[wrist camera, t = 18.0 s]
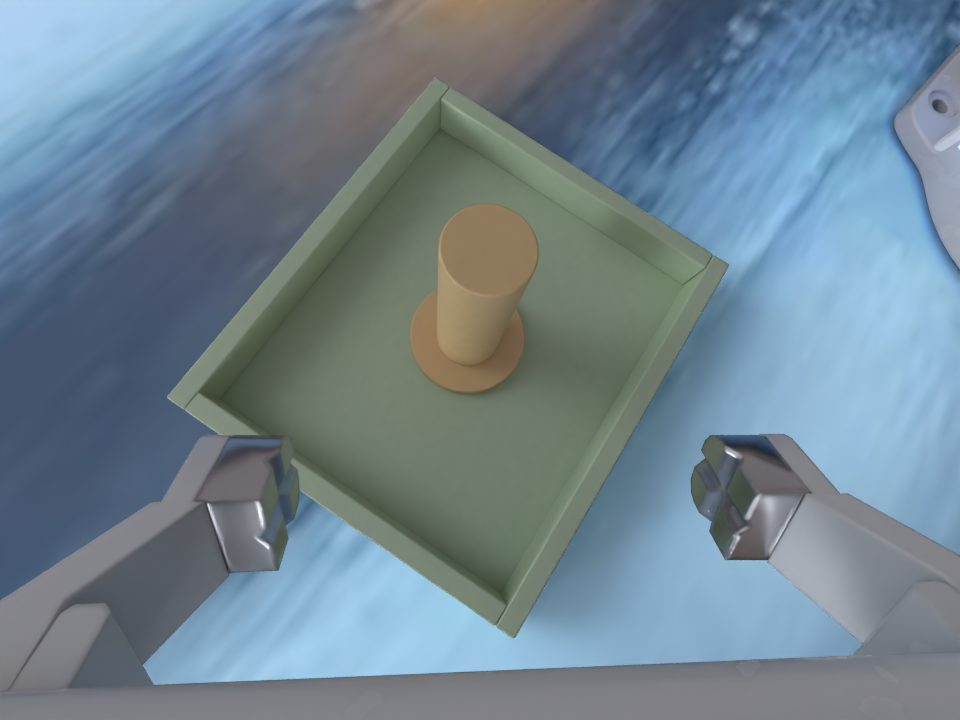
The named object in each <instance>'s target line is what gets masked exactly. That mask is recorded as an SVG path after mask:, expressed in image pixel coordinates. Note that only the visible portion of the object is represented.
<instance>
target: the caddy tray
mask: <svg viewBox="0 0 960 720" xmlns="http://www.w3.org/2000/svg"><path fill="white" fill-rule="evenodd" d="M728 266H729V265H728V264H727V263H726V262H724V261H722V260H721V259H719V258H718V257H716V256H712V254H711V253H710V252H708V251H707V250H705V249H704V248H702V247H701V246H699V245H697V244H696V243H694V242H693V241H691V240H690V239H688V238H686V237H685V236H683V235H682V234H680V233H679V232H677V231H675V230H674V229H672V228H671V227H669V226H668V225H666V224H664V223H663V222H661V221H660V220H658V219H657V218H655V217H654V216H652V215H650V214H649V213H647V212H646V211H644V210H643V209H641V208H639V207H638V206H636V205H635V204H633V203H632V202H630V201H628V200H627V199H625V198H624V197H622V196H621V195H619V194H617V193H616V192H614V191H613V190H611V189H610V188H608V187H607V186H605V185H603V184H602V183H600V182H599V181H597V180H596V179H594V178H592V177H591V176H589V175H588V174H586V173H585V172H583V171H581V170H580V169H578V168H577V167H575V166H574V165H572V164H570V163H569V162H567V161H566V160H564V159H563V158H561V157H560V156H558V155H556V154H555V153H553V152H552V151H550V150H549V149H547V148H545V147H544V146H542V145H541V144H539V143H538V142H536V141H534V140H533V139H531V138H530V137H528V136H527V135H525V134H523V133H522V132H520V131H519V130H517V129H516V128H514V127H513V126H511V125H509V124H508V123H506V122H505V121H503V120H502V119H500V118H498V117H497V116H495V115H494V114H492V113H491V112H489V111H487V110H486V109H484V108H483V107H481V106H480V105H478V104H476V103H475V102H473V101H472V100H470V99H469V98H467V97H466V96H464V95H462V94H461V93H459V92H458V91H456V90H455V89H453V88H450V86H449V85H447V84H445V83H444V82H442V81H441V80H439V79H438V78H434V80H433V81H432V82H431V83H430V84H429V86H428V87H427V88H426V89H425V90H424V92H423V93H422V94H421V95H420V96H419V97H418V99H417V100H416V101H415V102H414V103H413V105H412V106H411V107H410V108H409V109H408V111H407V112H406V113H405V114H404V115H403V117H402V118H401V119H400V120H399V121H398V122H397V124H396V125H395V126H394V127H393V128H392V130H391V131H390V132H389V133H388V134H387V136H386V137H385V138H384V139H383V140H382V142H381V143H380V144H379V145H378V146H377V147H376V149H375V150H374V151H373V152H372V153H371V155H370V156H369V157H368V158H367V159H366V161H365V162H364V163H363V164H362V165H361V166H360V168H359V169H358V170H357V171H356V172H355V174H354V175H353V176H352V177H351V178H350V180H349V181H348V182H347V183H346V184H345V186H344V187H343V188H342V189H341V190H340V191H339V193H338V194H337V195H336V196H335V197H334V199H333V200H332V201H331V202H330V203H329V205H328V206H327V207H326V208H325V209H324V211H323V212H322V213H321V214H320V215H319V216H318V218H317V219H316V220H315V221H314V222H313V224H312V225H311V226H310V227H309V228H308V230H307V231H306V232H305V233H304V234H303V236H302V237H301V238H300V239H299V240H298V241H297V243H296V244H295V245H294V246H293V247H292V249H291V250H290V251H289V252H288V253H287V255H286V256H285V257H284V258H283V259H282V261H281V262H280V263H279V264H278V265H277V266H276V268H275V269H274V270H273V271H272V272H271V274H270V275H269V276H268V277H267V278H266V280H265V281H264V282H263V283H262V284H261V286H260V287H259V288H258V289H257V290H256V291H255V293H254V294H253V295H252V296H251V297H250V299H249V300H248V301H247V302H246V303H245V305H244V306H243V307H242V308H241V309H240V310H239V312H238V313H237V314H236V315H235V316H234V318H233V319H232V320H231V321H230V322H229V324H228V325H227V326H226V327H225V328H224V330H223V331H222V332H221V333H220V334H219V335H218V337H217V338H216V339H215V340H214V341H213V343H212V344H211V345H210V346H209V347H208V349H207V350H206V351H205V352H204V353H203V355H202V356H201V357H200V358H199V359H198V360H197V362H196V363H195V364H194V365H193V366H192V368H191V369H190V370H189V371H188V372H187V374H186V375H185V376H184V377H183V378H182V380H181V381H180V382H179V383H178V384H177V385H176V387H175V388H174V389H173V390H172V391H171V393H170V394H169V395H168V396H167V398H168V399H169V400H171V401H172V402H173V403H175V404H176V405H178V406H179V407H181V408H182V409H185V410H186V412H188V413H189V414H191V415H192V416H194V417H195V418H196V419H198V420H199V421H201V422H202V423H204V424H205V425H206V426H208V427H209V428H211V429H212V430H214V431H215V432H217V433H218V434H219V435H232V436H233V435H267V436H288V437H290V438H291V440H292V444H293V448H294V454H293V457H292V460H291V464H292V465H293V466H294V467H295V468H297V469H298V475H299V486H300V491H301V492H303V493H304V494H306V495H307V496H309V497H310V498H311V499H313V500H314V501H316V502H317V503H319V504H320V505H321V506H323V507H324V508H326V509H327V510H329V511H330V512H332V513H333V514H334V515H336V516H337V517H339V518H340V519H342V520H343V521H344V522H346V523H347V524H349V525H350V526H352V527H353V528H355V529H356V530H357V531H359V532H360V533H362V534H363V535H365V536H366V537H367V538H369V539H370V540H372V541H373V542H375V543H376V544H378V545H379V546H380V547H382V548H383V549H385V550H386V551H388V552H389V553H390V554H392V555H393V556H395V557H396V558H398V559H399V560H401V561H402V562H403V563H405V564H406V565H408V566H409V567H411V568H412V569H413V570H415V571H416V572H418V573H419V574H421V575H422V576H424V577H425V578H426V579H428V580H429V581H431V582H432V583H434V584H435V585H436V586H438V587H439V588H441V589H442V590H444V591H445V592H446V593H448V594H449V595H451V596H452V597H454V598H455V599H457V600H458V601H459V602H461V603H462V604H464V605H465V606H467V607H468V608H469V609H471V610H472V611H474V612H475V613H477V614H478V615H480V616H481V617H482V618H484V619H485V620H487V621H488V622H490V623H491V624H492V625H496V627H497V628H498V629H500V630H501V631H503V632H504V633H506V634H507V635H508V636H510V637H511V638H515V637H516V635H517V634H518V632H519V630H520V629H521V627H522V625H523V623H524V622H525V620H526V618H527V616H528V615H529V613H530V611H531V609H532V608H533V606H534V604H535V602H536V601H537V599H538V597H539V595H540V594H541V592H542V590H543V588H544V587H545V585H546V583H547V582H548V580H549V578H550V576H551V575H552V573H553V571H554V569H555V568H556V566H557V564H558V562H559V561H560V559H561V557H562V555H563V554H564V552H565V550H566V548H567V547H568V545H569V543H570V542H571V540H572V538H573V536H574V535H575V533H576V531H577V529H578V528H579V526H580V524H581V522H582V521H583V519H584V517H585V515H586V514H587V512H588V510H589V508H590V507H591V505H592V503H593V501H594V500H595V498H596V496H597V495H598V493H599V491H600V489H601V488H602V486H603V484H604V482H605V481H606V479H607V477H608V475H609V474H610V472H611V470H612V468H613V467H614V465H615V463H616V461H617V460H618V458H619V456H620V455H621V453H622V451H623V449H624V448H625V446H626V444H627V442H628V441H629V439H630V437H631V435H632V434H633V432H634V430H635V428H636V427H637V425H638V423H639V421H640V420H641V418H642V416H643V414H644V413H645V411H646V409H647V408H648V406H649V404H650V402H651V401H652V399H653V397H654V395H655V394H656V392H657V390H658V388H659V387H660V385H661V383H662V381H663V380H664V378H665V376H666V374H667V373H668V371H669V369H670V368H671V366H672V364H673V362H674V361H675V359H676V357H677V355H678V354H679V352H680V350H681V348H682V347H683V345H684V343H685V341H686V340H687V338H688V336H689V334H690V333H691V331H692V329H693V328H694V326H695V324H696V322H697V321H698V319H699V317H700V315H701V314H702V312H703V310H704V308H705V307H706V305H707V303H708V301H709V300H710V298H711V296H712V294H713V293H714V291H715V289H716V287H717V286H718V284H719V282H720V281H721V279H722V277H723V275H724V274H725V272H726V270H727V268H728Z"/></svg>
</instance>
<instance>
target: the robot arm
mask: <svg viewBox="0 0 960 720" xmlns="http://www.w3.org/2000/svg"><path fill="white" fill-rule="evenodd" d="M894 127H895V130H896V133H897V135H898V138H899V140H900V141H901V143H902V145H903V147H904V148H905V150H906V151H907V153H908V155H909V156H910V158H911V159H912V161H913V162H914V164H915V165H916V167H917V168H918V170H919V173H920V175H921V178H922V182H923V185H924V190H925V194H926V199H927V203H928V207H929V211H930V214H931V217H932V220H933V223H934V225H935V228H936V230H937V232H938V235H939V237H940V239H941V241H942V243H943V244H944V246H945V248H946V250H947V251H948V253H949V255H950V256H951V258H952V259H953V260H954V262H955V263H956V265H957V266H958V267H959V269H960V44H959V45H958V46H957V48H956V49H955V50H954V51H953V52H952V53H951V54H950V55H949V56H948V57H947V59H946V60H945V61H944V62H943V63H942V64H941V65H940V66H939V67H938V69H937V70H936V71H935V72H934V73H933V74H932V75H931V76H930V77H929V79H928V80H927V81H926V82H925V83H924V84H923V85H922V86H921V87H920V88H919V90H918V91H917V92H916V93H915V94H914V95H913V96H912V97H911V98H910V100H909V101H908V102H907V103H906V104H905V105H904V106H903V107H902V108H901V110H900V111H899V112H898V113H897V115H896V117H895V120H894ZM701 451H702V453H703V454H704V456H705V459H704V460H702V461H701V462H700V463H699V464H697V465H696V466H695V468H694V471H693V474H692V477H691V494H692V497H693V501H694V503H695V505H696V507H697V509H698V511H699V513H700V514H702V515H703V516H705V517H706V518H707V519H709V520H710V521H711V522H712V523H711V526H710V530H709V532H710V533H711V535H712V537H713V539H714V541H715V542H716V544H717V546H718V548H719V550H720V552H721V553H722V555H723V557H724V559H725V560H768V563H769V564H770V565H771V566H772V567H773V568H775V569H776V570H777V571H778V572H779V573H780V574H782V575H783V576H784V577H785V578H786V579H787V580H789V581H790V582H791V583H792V584H793V585H794V586H796V587H797V588H798V589H799V590H800V591H801V592H803V593H804V594H805V595H806V596H807V597H808V598H809V599H811V600H812V601H813V602H814V603H815V604H816V605H818V606H819V607H820V608H821V609H822V610H823V611H825V612H826V613H827V614H828V615H829V616H830V617H832V618H833V619H834V620H835V621H836V622H837V623H839V624H840V625H841V626H842V627H843V628H844V629H846V630H847V631H848V632H849V633H850V634H851V635H852V636H854V637H855V638H856V639H857V640H858V641H859V642H861V643H862V645H861V646H860V647H859V648H858V649H857V651H856V652H855V653H854V654H853V655H852V656H830V657H807V658H783V659H759V660H736V661H712V662H688V663H665V664H641V665H618V666H594V667H571V668H547V669H523V670H500V671H476V672H453V673H429V674H405V675H381V676H357V677H333V678H309V679H285V680H261V681H237V682H213V683H189V684H165V685H154V684H153V682H152V681H151V679H150V677H149V675H148V674H147V672H146V670H145V669H144V667H143V664H144V663H145V662H146V661H147V660H148V659H149V658H150V657H151V656H152V655H153V654H154V653H155V652H156V651H157V650H158V649H159V648H160V647H161V645H162V644H163V643H164V642H165V641H166V640H167V639H168V638H169V637H170V636H171V635H172V634H173V633H174V632H175V631H176V630H177V629H178V628H179V627H180V626H181V625H182V624H183V623H184V622H185V621H186V620H187V619H188V618H189V617H190V616H191V615H192V614H193V612H194V611H195V610H196V609H197V608H198V607H199V606H200V605H201V604H202V603H203V602H204V601H205V600H206V599H207V598H208V597H209V596H210V595H211V594H212V593H213V592H214V591H215V590H216V589H217V588H218V587H219V586H220V585H221V584H222V583H223V582H224V581H225V579H226V578H227V577H228V576H229V574H228V573H240V572H260V571H279V568H280V564H281V561H282V558H283V554H284V551H285V548H286V545H287V541H288V535H287V531H286V526H287V525H288V524H289V523H290V522H291V521H292V520H294V518H295V514H296V511H297V507H298V500H299V492H300V486H299V475H298V469H297V468H295V467H294V466H293V465H292V464H291V460H292V457H293V454H294V448H293V444H292V440H291V438H290V437H288V436H267V435H233V436H232V435H204V436H203V437H201V438H200V439H199V440H198V441H197V442H196V444H195V446H194V447H193V449H192V451H191V452H190V454H189V456H188V457H187V459H186V461H185V462H184V464H183V466H182V467H181V469H180V471H179V472H178V474H177V476H176V477H175V479H174V481H173V482H172V484H171V486H170V487H169V489H168V491H167V492H166V494H165V496H164V497H163V499H162V501H161V502H151V503H150V504H148V505H147V506H145V507H144V508H142V509H141V510H139V511H138V512H136V513H134V514H133V515H131V516H130V517H128V518H127V519H125V520H124V521H122V522H121V523H119V524H118V525H116V526H114V527H113V528H111V529H110V530H108V531H107V532H105V533H104V534H102V535H101V536H99V537H97V538H96V539H94V540H93V541H91V542H90V543H88V544H87V545H85V546H84V547H82V548H81V549H79V550H77V551H76V552H74V553H73V554H71V555H70V556H68V557H67V558H65V559H64V560H62V561H61V562H59V563H57V564H56V565H54V566H53V567H51V568H50V569H48V570H47V571H45V572H44V573H42V574H41V575H39V576H37V577H36V578H34V579H33V580H31V581H30V582H28V583H27V584H25V585H24V586H22V587H20V588H19V589H17V590H16V591H14V592H13V593H11V594H10V595H8V596H7V597H5V598H4V599H2V600H0V720H960V555H958V554H956V553H954V552H953V551H951V550H949V549H947V548H945V547H944V546H942V545H940V544H938V543H936V542H935V541H933V540H931V539H929V538H927V537H925V536H924V535H922V534H920V533H918V532H916V531H915V530H913V529H911V528H909V527H907V526H906V525H904V524H902V523H900V522H898V521H897V520H895V519H893V518H891V517H889V516H888V515H886V514H884V513H882V512H880V511H879V510H877V509H875V508H873V507H871V506H870V505H868V504H866V503H864V502H862V501H861V500H859V499H857V498H855V497H853V496H852V495H850V494H840V493H839V491H838V490H837V489H836V488H835V487H834V486H833V485H832V483H831V482H830V481H829V480H828V479H827V478H826V477H825V475H824V474H823V473H822V472H821V471H820V470H819V469H818V467H817V466H816V465H815V464H814V463H813V462H812V461H811V459H810V458H809V457H808V456H807V455H806V454H805V453H804V452H803V450H802V449H801V448H800V447H799V446H798V445H797V444H796V442H795V441H794V440H793V439H792V438H791V437H789V436H787V435H785V434H759V435H710V436H709V437H708V438H707V439H706V440H705V442H704V445H703V447H702V449H701Z"/></svg>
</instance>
